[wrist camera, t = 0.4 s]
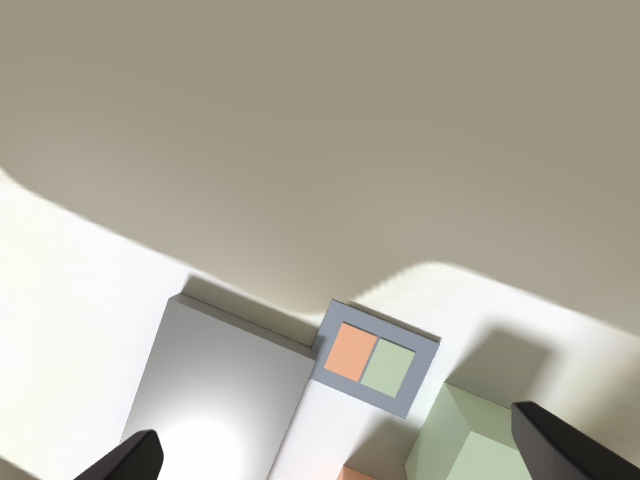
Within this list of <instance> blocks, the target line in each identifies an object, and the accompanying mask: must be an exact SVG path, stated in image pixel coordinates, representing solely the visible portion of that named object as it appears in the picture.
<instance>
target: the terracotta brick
mask: <svg viewBox="0 0 640 480" xmlns="http://www.w3.org/2000/svg"><path fill="white" fill-rule="evenodd" d="M337 480H376V479H374V478H371V477H369V476H367V475H365V474H362V473H360V472H358V471H355V470H353V469H351V468H349V467H346V466H344V465H343V467H342V469H341V471H340V473H339V476H338V478H337Z"/></svg>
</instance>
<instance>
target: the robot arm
mask: <svg viewBox="0 0 640 480" xmlns="http://www.w3.org/2000/svg"><path fill="white" fill-rule="evenodd" d="M511 432H512V436H513V439H514V442H515V444H516V446H517V448H518V450H519V452H520V455H521V457H522V459H523V461H524V463H525V465H526V467H527V470H528V472H529V474H530V476H531V478H532V480H640V468H638V467H636V466H635V465H633V464H632V463H630V462H628V461H627V460H625V459H624V458H622V457H620V456H619V455H617V454H616V453H614V452H612V451H611V450H609V449H608V448H606V447H605V446H603V445H601V444H600V443H598V442H597V441H595V440H593V439H592V438H590V437H589V436H587V435H585V434H584V433H582V432H581V431H579V430H577V429H576V428H574V427H573V426H571V425H569V424H568V423H566V422H565V421H563V420H562V419H560V418H558V417H557V416H555V415H554V414H552V413H550V412H549V411H547V410H546V409H544V408H542V407H541V406H539V405H538V404H536V403H534V402H532V401H515V402H513V403H512V406H511ZM163 461H164V452H163V449H162V446H161V443H160V440H159V437H158V434H157V432H156V431H155V430H153V429H148V430H140V431H137V432H136V433H134V434H133V435H132V436H130V437H129V438H128V439H126V440H125V441H124V442H122V443H121V444H120V445H118V446H117V447H116V448H114V449H113V450H112V451H110V452H109V453H108V454H106V455H105V456H104V457H103V458H101V459H100V460H99V461H97V462H96V463H95V464H93V465H92V466H91V467H89V468H88V469H87V470H85V471H84V472H83V473H81V474H80V475H79V476H77V477H76V478H75V479H73V480H157V479H158V476H159V474H160V471H161V468H162V465H163Z"/></svg>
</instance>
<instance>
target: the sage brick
mask: <svg viewBox="0 0 640 480" xmlns="http://www.w3.org/2000/svg"><path fill="white" fill-rule="evenodd" d="M404 466H405V470H406V475H407V480H532V478H531V476H530V474H529V472H528V470H527V467H526V465H525V463H524V461H523V459H522V457H521V455H520V452H519V450H518V448H517V446H516V444H515V442H514V439H513V436H512V432H511V410H510V409H507V408H505V407H503V406H500V405H498V404H496V403H493V402H491V401H488V400H486V399H484V398H481V397H479V396H476V395H474V394H472V393H469V392H467V391H465V390H462V389H460V388H457V387H455V386H453V385H450V384H448V383H445V382H444V383H443V385H442V387H441V389H440V391H439V393H438V395H437V397H436V399H435V402H434V404H433V406H432V408H431V410H430V412H429V414H428V416H427V418H426V420H425V422H424V425H423V427H422V429H421V431H420V433H419V435H418V437H417V439H416V441H415V443H414V445H413V448H412V450H411V452H410V454H409V456H408V458H407V460H406V462H405V464H404Z"/></svg>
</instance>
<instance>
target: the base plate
mask: <svg viewBox="0 0 640 480" xmlns="http://www.w3.org/2000/svg"><path fill="white" fill-rule="evenodd" d="M316 357H317V352H314V351H312V350H311V348H310V347H307V346H305V345H303V344H300V343H298V342H296V341H293V340H291V339H288V338H286V337H284V336H281V335H279V334H277V333H274V332H272V331H270V330H267V329H265V328H262V327H260V326H258V325H255V324H253V323H251V322H248V321H246V320H244V319H241V318H239V317H236V316H234V315H232V314H229V313H227V312H225V311H222V310H220V309H218V308H215V307H213V306H210V305H208V304H206V303H203V302H201V301H199V300H196V299H194V298H192V297H189V296H187V295H184V294H182V293H179V294H177V295H175V296H173V297H171V298H169V299H168V302H167V305H166V308H165V311H164V314H163V317H162V320H161V323H160V325H159V328H158V331H157V334H156V337H155V340H154V343H153V346H152V349H151V352H150V355H149V358H148V361H147V364H146V367H145V370H144V372H143V375H142V378H141V381H140V384H139V387H138V390H137V393H136V396H135V399H134V402H133V405H132V408H131V411H130V414H129V417H128V419H127V422H126V425H125V428H124V431H123V434H122V437H121V440H120V443H119V445H120V444H121V443H122V442H124V441H125V440H126V439H128V438H129V437H130V436H132V435H133V434H134V433H136V432H137V431H140V430H148V429H153V430H155V431H156V432H157V434H158V437H159V440H160V443H161V446H162V449H163V452H164V461H163V465H162V468H161V471H160V474H159V476H158V479H157V480H266V479H267V476H268V474H269V472H270V469H271V467H272V464H273V462H274V460H275V457H276V455H277V452H278V450H279V448H280V445H281V443H282V440H283V438H284V436H285V433H286V431H287V428H288V426H289V424H290V421H291V419H292V416H293V414H294V412H295V409H296V407H297V404H298V402H299V400H300V397H301V395H302V392H303V390H304V388H305V385H306V383H307V380H308V378H309V376H310V373H311V371H312V368H313V366H314V364H315V361H316Z"/></svg>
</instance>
